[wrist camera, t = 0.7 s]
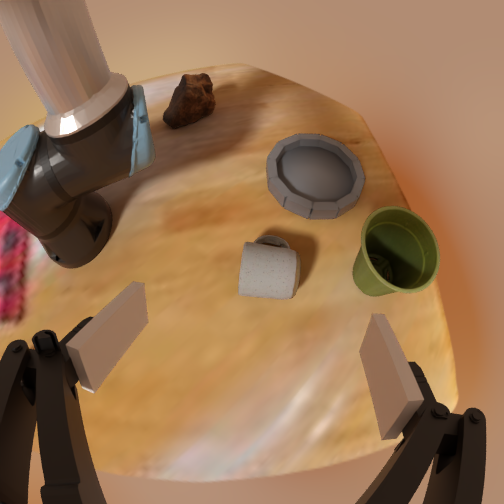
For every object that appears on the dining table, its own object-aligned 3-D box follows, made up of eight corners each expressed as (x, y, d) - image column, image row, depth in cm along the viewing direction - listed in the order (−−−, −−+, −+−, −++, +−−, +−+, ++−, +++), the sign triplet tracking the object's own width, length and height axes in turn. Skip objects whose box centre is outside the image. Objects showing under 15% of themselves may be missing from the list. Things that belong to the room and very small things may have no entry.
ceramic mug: (293, 305, 40) (301, 292, 33) (238, 300, 40) (235, 286, 33) (296, 241, 44) (303, 218, 37) (246, 237, 44) (244, 212, 37)
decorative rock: (210, 101, 57) (205, 64, 47) (222, 114, 55) (217, 75, 45) (162, 121, 55) (150, 84, 45) (171, 136, 53) (158, 97, 43)
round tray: (248, 165, 49) (248, 154, 47) (319, 134, 53) (321, 123, 50) (305, 236, 44) (309, 228, 41) (376, 192, 47) (382, 183, 44)
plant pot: (383, 231, 44) (413, 196, 34) (413, 294, 40) (452, 272, 30) (325, 253, 43) (345, 218, 32) (355, 323, 39) (388, 308, 28)
